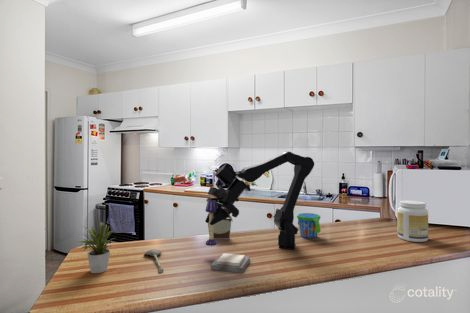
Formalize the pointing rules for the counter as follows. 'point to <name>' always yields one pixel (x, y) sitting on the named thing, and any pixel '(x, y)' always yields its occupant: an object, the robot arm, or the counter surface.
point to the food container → (222, 229)
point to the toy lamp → (211, 209)
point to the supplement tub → (412, 221)
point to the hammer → (154, 253)
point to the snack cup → (309, 224)
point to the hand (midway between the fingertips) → (208, 223)
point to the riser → (230, 263)
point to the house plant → (97, 249)
